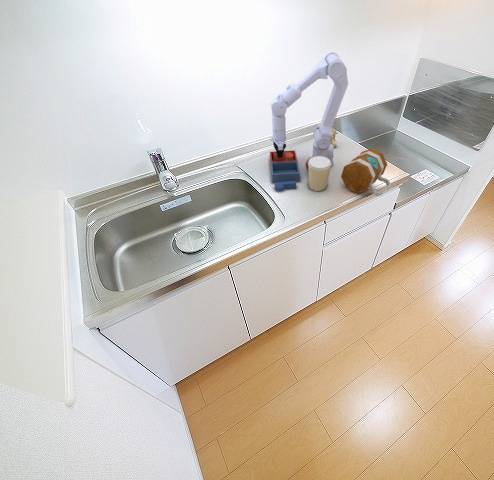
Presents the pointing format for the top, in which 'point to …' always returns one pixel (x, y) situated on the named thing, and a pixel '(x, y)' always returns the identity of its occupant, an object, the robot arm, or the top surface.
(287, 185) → the blue spoon
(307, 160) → the apple
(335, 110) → the robot arm
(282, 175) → the blue bin
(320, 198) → the top surface
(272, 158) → the red bin
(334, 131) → the robot
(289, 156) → the terracotta spoon
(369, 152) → the mug
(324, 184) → the coffee cup
